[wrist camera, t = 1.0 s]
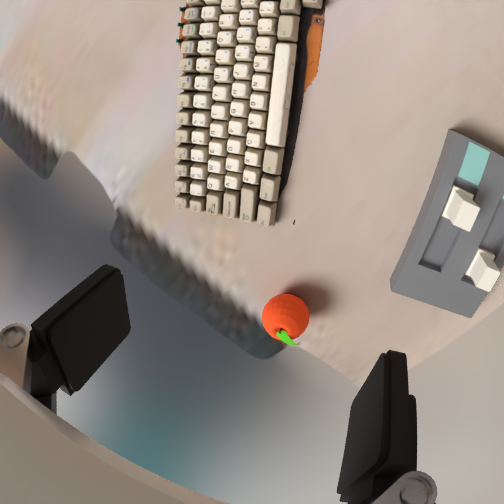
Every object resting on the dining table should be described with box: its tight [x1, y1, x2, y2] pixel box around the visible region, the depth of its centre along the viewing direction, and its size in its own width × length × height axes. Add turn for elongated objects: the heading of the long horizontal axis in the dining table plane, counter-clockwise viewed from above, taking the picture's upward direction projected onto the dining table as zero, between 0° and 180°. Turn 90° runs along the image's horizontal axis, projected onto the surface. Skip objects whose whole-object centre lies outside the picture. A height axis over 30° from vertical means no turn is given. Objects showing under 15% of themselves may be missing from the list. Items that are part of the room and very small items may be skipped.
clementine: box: [262, 294, 309, 345], centre depth 45 cm, size 8×7×7 cm
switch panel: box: [390, 130, 504, 318], centre depth 33 cm, size 22×14×3 cm, turn 169°
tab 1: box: [441, 185, 480, 232], centre depth 29 cm, size 4×3×4 cm
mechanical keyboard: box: [175, 0, 326, 227], centre depth 34 cm, size 38×19×3 cm, turn 175°
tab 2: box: [465, 247, 501, 292], centre depth 31 cm, size 4×3×4 cm
